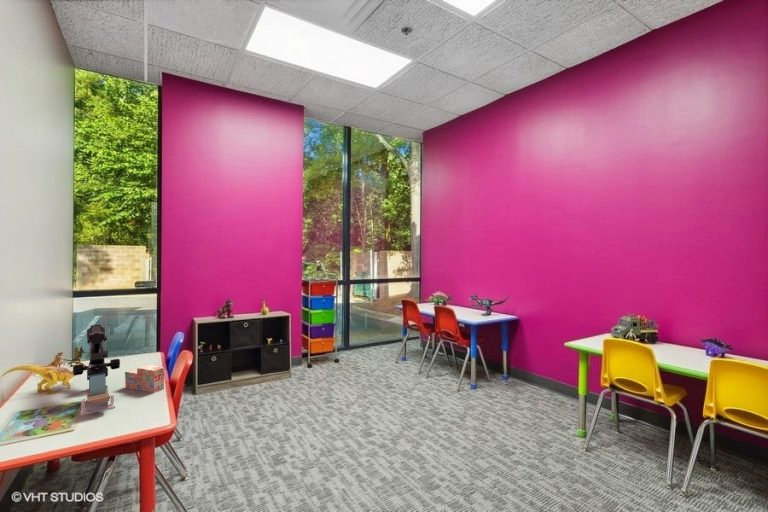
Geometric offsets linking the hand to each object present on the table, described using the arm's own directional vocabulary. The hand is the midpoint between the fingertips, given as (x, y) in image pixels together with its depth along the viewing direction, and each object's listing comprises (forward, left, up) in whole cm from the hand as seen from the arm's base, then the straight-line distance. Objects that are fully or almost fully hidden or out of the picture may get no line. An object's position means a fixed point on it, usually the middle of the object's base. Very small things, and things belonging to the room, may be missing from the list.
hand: (97, 381), depth 183 cm
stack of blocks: (+10, +20, -11) cm, 25 cm away
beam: (+4, -5, -9) cm, 11 cm away
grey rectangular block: (+4, -5, -4) cm, 7 cm away
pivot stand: (+7, -7, -11) cm, 14 cm away
